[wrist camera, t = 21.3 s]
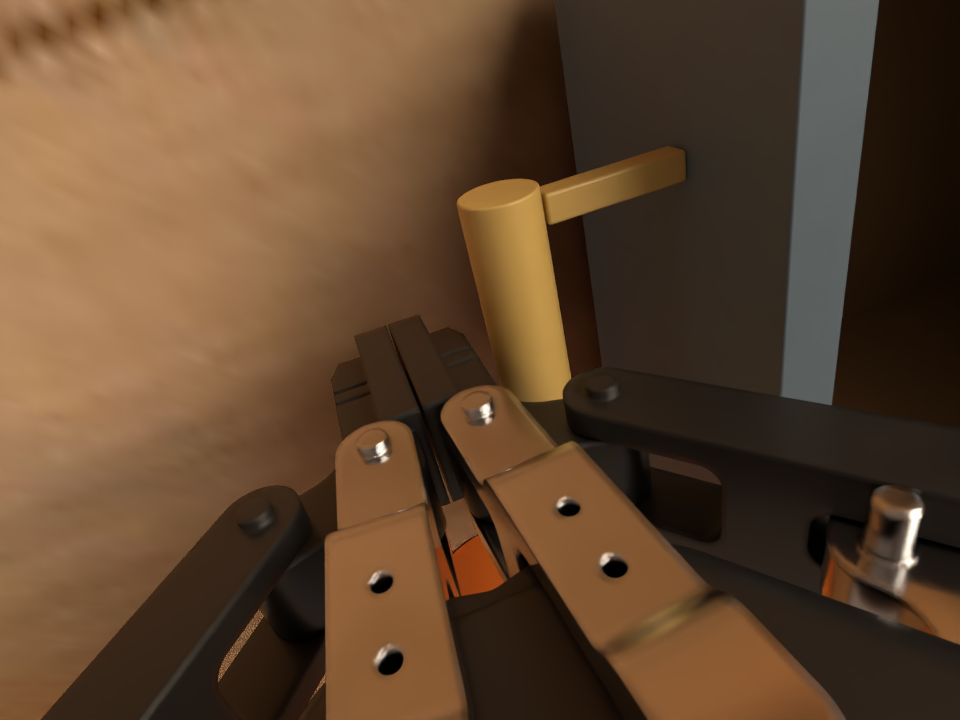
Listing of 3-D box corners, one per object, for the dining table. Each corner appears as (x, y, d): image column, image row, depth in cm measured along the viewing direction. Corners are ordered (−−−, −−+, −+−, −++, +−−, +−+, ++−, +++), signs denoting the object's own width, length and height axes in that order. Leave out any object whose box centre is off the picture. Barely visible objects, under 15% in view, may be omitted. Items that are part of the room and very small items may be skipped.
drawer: (490, 466, 20) (599, 678, 13) (363, 8, 13) (460, -21, 6) (996, 270, 23) (1288, 364, 16) (1115, -186, 16) (1707, -342, 9)
